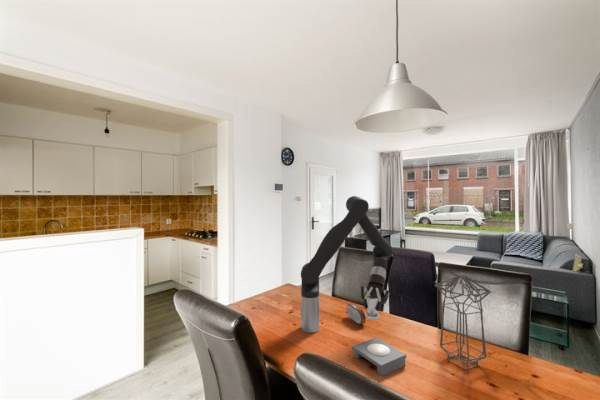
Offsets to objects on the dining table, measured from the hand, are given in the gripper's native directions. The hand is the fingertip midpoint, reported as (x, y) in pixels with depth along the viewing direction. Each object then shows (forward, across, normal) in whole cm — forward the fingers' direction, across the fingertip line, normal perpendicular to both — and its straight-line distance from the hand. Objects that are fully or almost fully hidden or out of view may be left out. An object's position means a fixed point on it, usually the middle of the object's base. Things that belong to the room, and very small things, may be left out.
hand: (371, 309), depth 127 cm
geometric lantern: (+9, +37, +11) cm, 40 cm away
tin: (-1, -13, +22) cm, 26 cm away
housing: (+2, 0, +4) cm, 5 cm away
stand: (+21, +7, 0) cm, 22 cm away
